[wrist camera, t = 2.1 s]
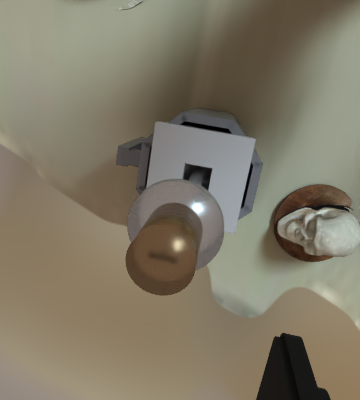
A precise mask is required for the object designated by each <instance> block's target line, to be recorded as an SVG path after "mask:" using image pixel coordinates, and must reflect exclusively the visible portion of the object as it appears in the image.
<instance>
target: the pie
mask: <svg viewBox="0 0 360 400" xmlns="http://www.w3.org/2000/svg"><path fill="white" fill-rule="evenodd" d="M141 1H142V0H132V1H131V2H130V3H129V4H127V5H125V6H124V7H122V8H120V9H118V10H123V9H129V8H132V7H134V6H135V5H137V4H138V3H140V2H141Z"/></svg>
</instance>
